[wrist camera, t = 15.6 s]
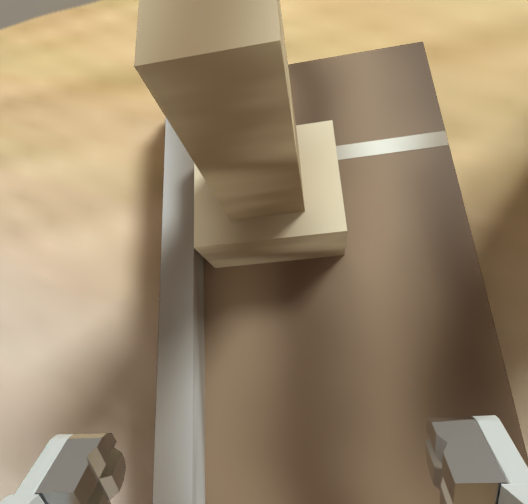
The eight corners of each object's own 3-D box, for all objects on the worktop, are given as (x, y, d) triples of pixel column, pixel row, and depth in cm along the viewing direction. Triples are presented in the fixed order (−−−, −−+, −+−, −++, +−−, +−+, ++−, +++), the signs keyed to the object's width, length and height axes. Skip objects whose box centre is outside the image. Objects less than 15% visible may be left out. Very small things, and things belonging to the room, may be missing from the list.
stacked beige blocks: (331, 159, 19) (335, -110, 8) (344, 255, 17) (367, 68, 7) (213, 174, 20) (85, -53, 9) (214, 268, 18) (61, 117, 8)
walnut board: (414, 70, 22) (429, 16, 19) (589, 812, 12) (684, 970, 9) (182, 108, 24) (158, 64, 21) (170, 777, 14) (121, 898, 11)
